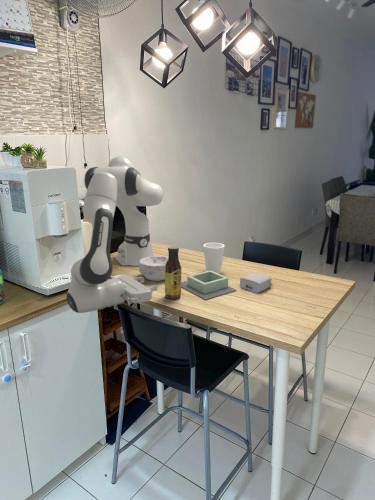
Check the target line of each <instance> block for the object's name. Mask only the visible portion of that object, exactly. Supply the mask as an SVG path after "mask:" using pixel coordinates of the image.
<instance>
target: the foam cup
mask: <svg viewBox="0 0 375 500" xmlns="http://www.w3.org/2000/svg"><path fill="white" fill-rule="evenodd" d="M202 246H203V247H202V249H203V250H202V251H203V256H204V263H205V272H206V271H210V270H211V271H213V272H216V273H218V274H220V275H221V271H222V265H223V259H224V258H223V257H224V253H225V244H223V243H220V242H206V243H204V244H203V245H202Z"/></svg>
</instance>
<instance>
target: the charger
mask: <svg viewBox="0 0 375 500" xmlns="http://www.w3.org/2000/svg"><path fill="white" fill-rule="evenodd" d="M272 281H273V278H272V276H271V275H268V274H262V273H257V272H251V273H250V274H248V275H245V276H243V277H240V278H239V287H240V288H241V289H244V290H247V291H249V292H253V293H256V294H259V293H261V292H263V291H265V290H267V289H269V288H271V284H272Z"/></svg>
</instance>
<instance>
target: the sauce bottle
mask: <svg viewBox="0 0 375 500" xmlns="http://www.w3.org/2000/svg"><path fill="white" fill-rule="evenodd" d="M179 251H180V248H179V246H173V245H171V246H168V247H167V252H168V256H167V257H168V261H167V262H166V265H165V280H164V293H165V298H166V299H169V300H177V299H179V298H180V297H181V295H182V294H181V293H182V287H181V282H182V265H181V263H180V260H179Z"/></svg>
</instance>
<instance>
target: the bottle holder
mask: <svg viewBox="0 0 375 500" xmlns="http://www.w3.org/2000/svg"><path fill="white" fill-rule="evenodd" d="M186 279H187V280H186V281H187V285H188V286H190V287H192V288H194V289H196V290H197V291H199V292H201V293H203V294H206V293H209V292H213V291H216V290H220V289H223V288H227V287H228V286H229V277H227V276H225V275H223V274H221V273H220V274H218V273H216V272H213V271H211V270H210V271H206V270H205V271H203V272H199V273H194V274H191V275H187V276H186ZM206 281H210V282H207V283H204V282H206Z"/></svg>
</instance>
